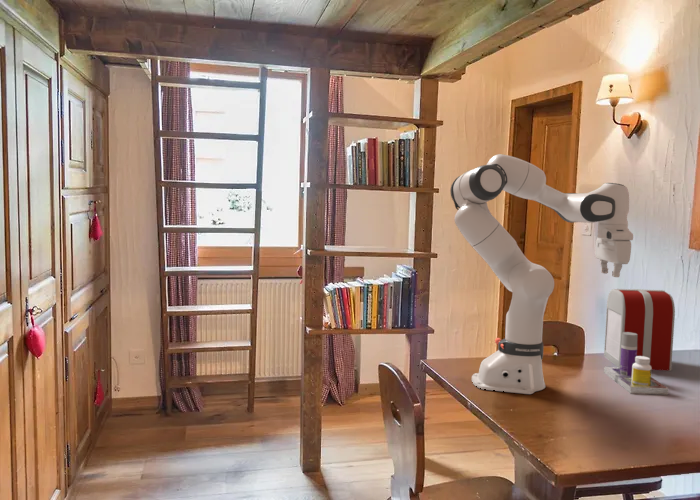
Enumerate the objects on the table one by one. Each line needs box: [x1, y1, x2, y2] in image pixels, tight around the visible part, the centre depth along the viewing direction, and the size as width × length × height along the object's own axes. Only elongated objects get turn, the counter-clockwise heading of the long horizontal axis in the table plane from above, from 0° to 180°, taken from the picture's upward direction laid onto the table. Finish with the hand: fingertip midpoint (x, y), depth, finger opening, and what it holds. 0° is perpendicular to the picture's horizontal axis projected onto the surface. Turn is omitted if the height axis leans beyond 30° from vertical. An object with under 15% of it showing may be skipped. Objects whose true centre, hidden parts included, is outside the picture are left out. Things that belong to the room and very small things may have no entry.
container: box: [620, 332, 637, 376], centre depth 182 cm, size 5×5×15 cm
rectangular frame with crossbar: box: [603, 366, 669, 396], centre depth 178 cm, size 21×11×2 cm, turn 176°
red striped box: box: [603, 288, 676, 372], centre depth 200 cm, size 16×18×27 cm
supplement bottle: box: [631, 356, 653, 386], centre depth 172 cm, size 5×5×10 cm
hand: (609, 275), depth 181 cm, fingers open, 8 cm apart
